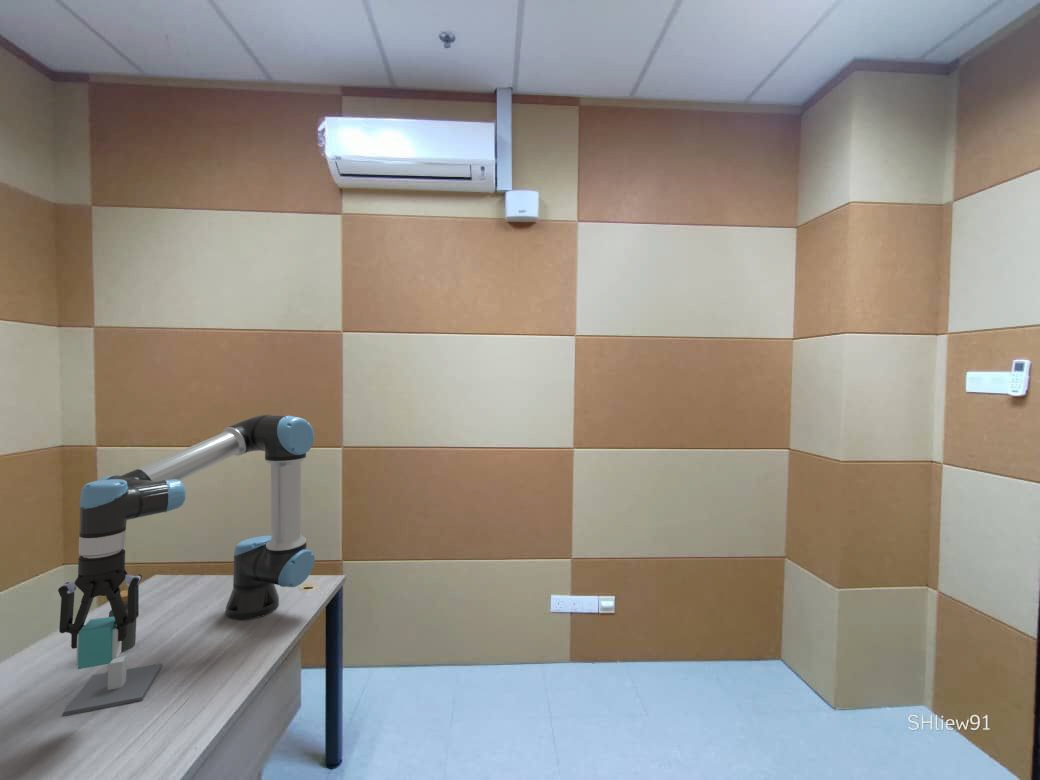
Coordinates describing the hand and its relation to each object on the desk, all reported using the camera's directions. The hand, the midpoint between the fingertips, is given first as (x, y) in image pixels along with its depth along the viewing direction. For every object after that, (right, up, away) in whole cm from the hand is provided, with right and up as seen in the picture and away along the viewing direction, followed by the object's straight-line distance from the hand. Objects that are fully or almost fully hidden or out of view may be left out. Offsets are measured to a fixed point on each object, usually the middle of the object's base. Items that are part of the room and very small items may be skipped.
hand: (99, 658), depth 98 cm
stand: (-5, -13, +10) cm, 17 cm away
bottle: (-19, -13, +27) cm, 35 cm away
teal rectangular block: (0, 0, 0) cm, 0 cm away
